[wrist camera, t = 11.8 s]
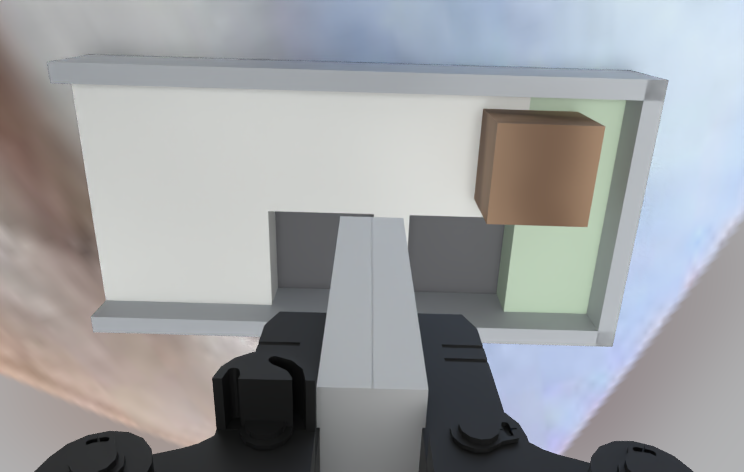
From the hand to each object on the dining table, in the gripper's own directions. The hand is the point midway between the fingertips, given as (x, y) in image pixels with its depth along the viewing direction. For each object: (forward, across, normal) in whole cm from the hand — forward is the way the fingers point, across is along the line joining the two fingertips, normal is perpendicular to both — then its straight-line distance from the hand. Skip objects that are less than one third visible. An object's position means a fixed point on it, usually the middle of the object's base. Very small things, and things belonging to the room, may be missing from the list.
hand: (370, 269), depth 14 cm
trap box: (+21, -1, -5) cm, 21 cm away
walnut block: (+18, +8, -2) cm, 20 cm away
